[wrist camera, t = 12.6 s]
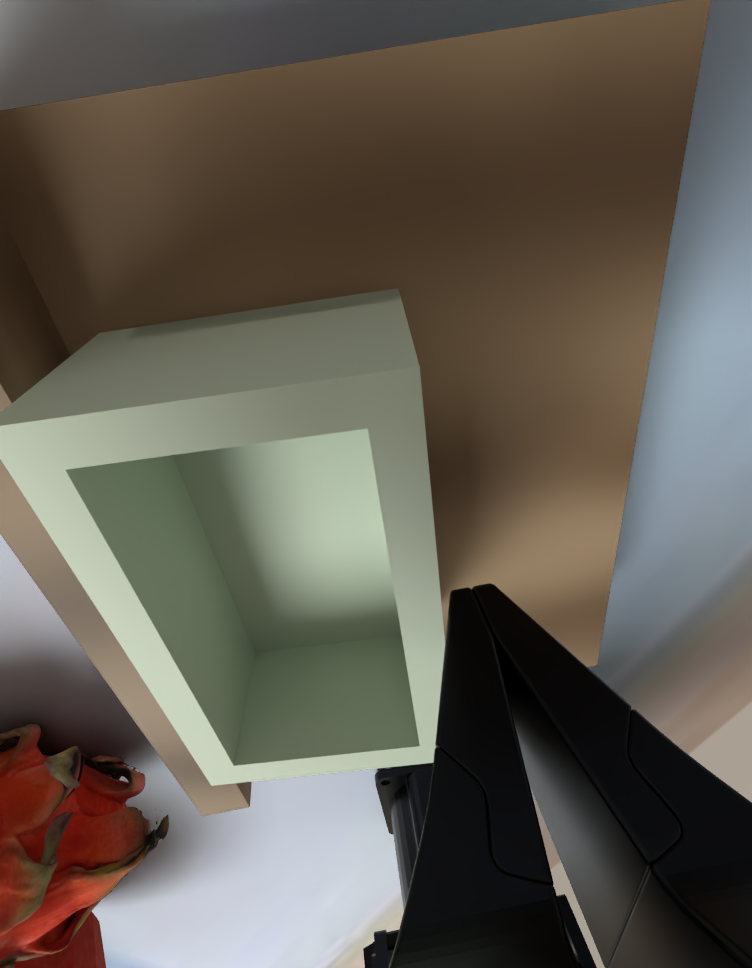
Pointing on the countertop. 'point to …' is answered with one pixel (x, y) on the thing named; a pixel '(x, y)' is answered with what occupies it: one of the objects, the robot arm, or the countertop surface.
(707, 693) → the countertop surface
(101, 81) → the countertop surface
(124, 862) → the dragon fruit
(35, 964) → the apple
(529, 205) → the walnut shelf
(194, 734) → the sage tray
